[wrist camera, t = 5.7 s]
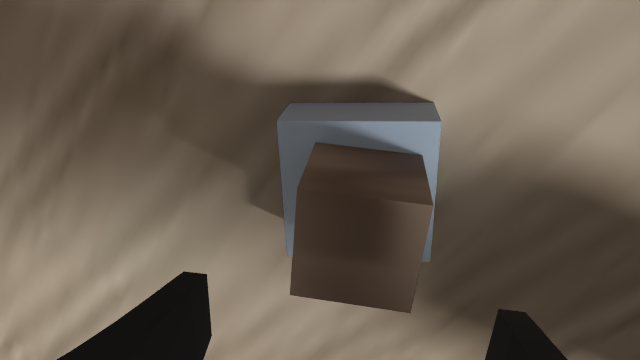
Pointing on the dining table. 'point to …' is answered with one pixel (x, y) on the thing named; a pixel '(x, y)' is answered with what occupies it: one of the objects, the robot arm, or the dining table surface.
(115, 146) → the dining table surface
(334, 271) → the walnut cube
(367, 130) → the base block
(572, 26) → the dining table surface
